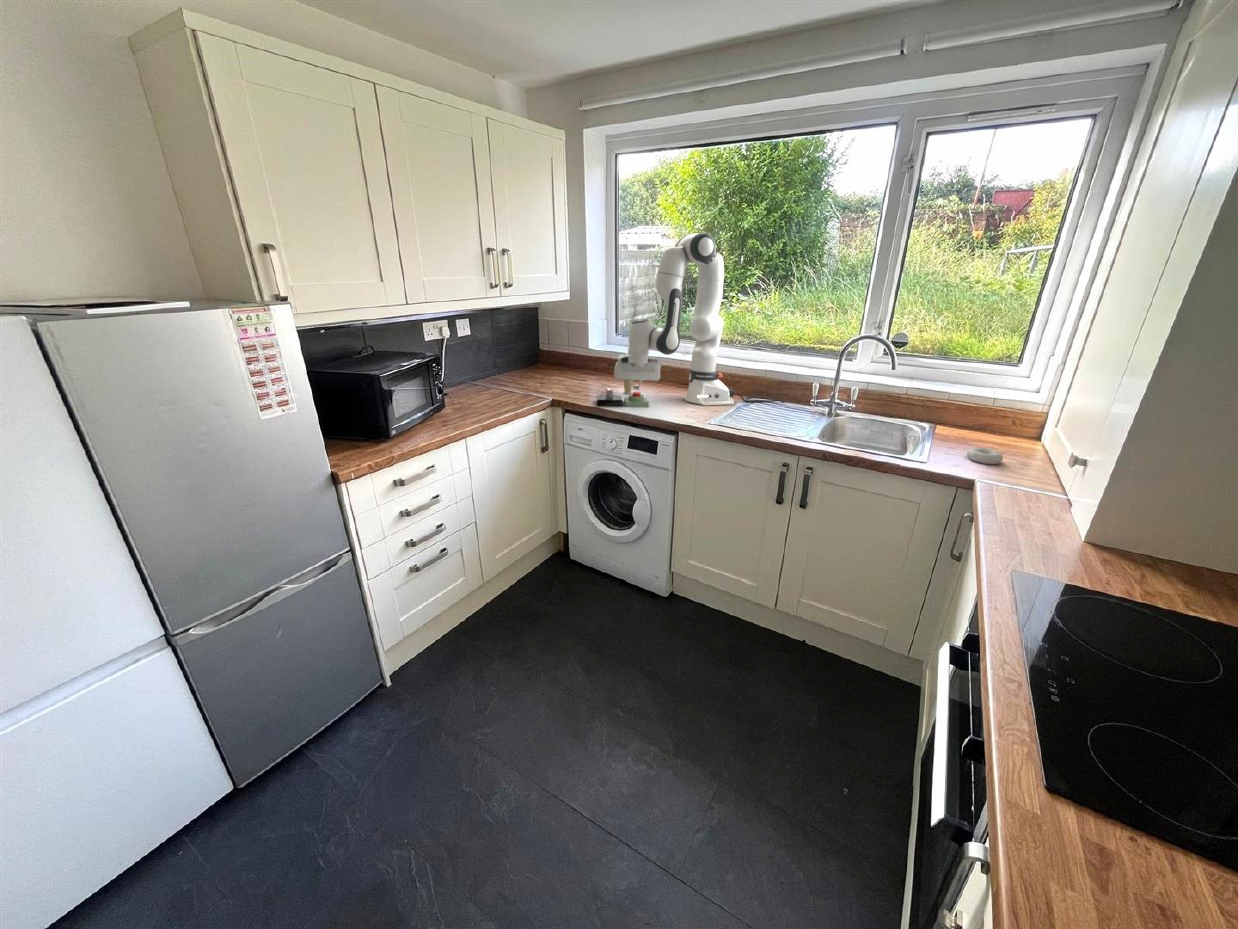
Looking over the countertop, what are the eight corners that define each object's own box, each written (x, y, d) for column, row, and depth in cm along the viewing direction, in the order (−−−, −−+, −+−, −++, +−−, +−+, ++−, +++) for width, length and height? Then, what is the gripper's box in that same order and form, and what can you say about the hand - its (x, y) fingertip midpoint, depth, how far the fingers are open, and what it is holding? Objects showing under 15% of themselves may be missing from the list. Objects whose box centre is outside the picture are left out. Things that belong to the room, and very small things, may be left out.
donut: (987, 467, 162) (1008, 464, 165) (990, 457, 160) (1011, 454, 163) (958, 457, 170) (979, 454, 173) (961, 447, 169) (982, 444, 172)
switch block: (646, 402, 226) (646, 393, 224) (648, 406, 218) (648, 398, 217) (624, 402, 225) (624, 393, 224) (625, 406, 218) (625, 397, 216)
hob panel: (620, 401, 226) (620, 394, 225) (622, 407, 216) (622, 400, 215) (596, 400, 225) (596, 394, 224) (597, 406, 216) (597, 399, 215)
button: (640, 395, 222) (640, 391, 222) (640, 397, 219) (641, 393, 218) (631, 395, 222) (632, 391, 221) (632, 397, 219) (632, 393, 218)
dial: (606, 395, 222) (606, 387, 221) (609, 395, 223) (609, 387, 221) (608, 398, 217) (609, 390, 215) (612, 398, 217) (612, 390, 216)
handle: (635, 394, 240) (637, 362, 235) (623, 394, 238) (624, 363, 232) (631, 391, 244) (633, 361, 239) (619, 392, 242) (620, 361, 237)
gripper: (660, 357, 218) (658, 388, 223) (614, 355, 216) (613, 387, 221) (662, 360, 212) (660, 392, 217) (615, 358, 211) (613, 390, 216)
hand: (636, 389), depth 219 cm, fingers closed
